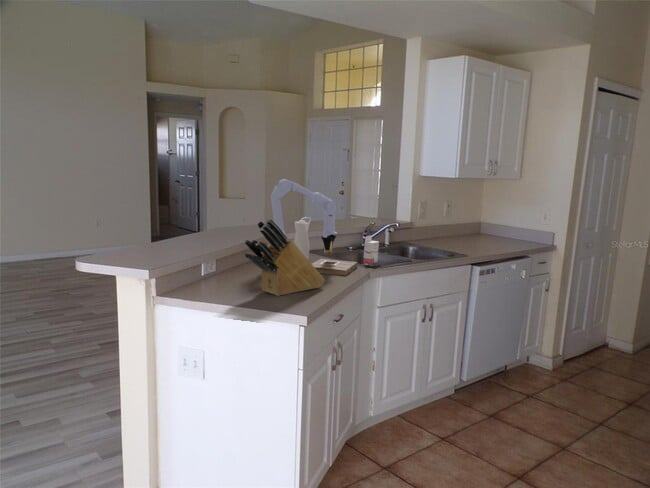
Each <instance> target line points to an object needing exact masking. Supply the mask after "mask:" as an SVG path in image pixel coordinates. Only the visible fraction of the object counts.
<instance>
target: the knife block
mask: <svg viewBox="0 0 650 488" xmlns="http://www.w3.org/2000/svg"><path fill="white" fill-rule="evenodd" d="M257 226H258V228H259V230H258V231H259V232H260V233H261V234H262V235H263V236H264V238H265V240H267V242H268V243H269V244H270V245H269V246H268V245H267V244H265V243H264V242H263V241H257V240H254V239H253V240H252V242H251V241H250V240H248V239H245V240H244V241H243V243H244V244H245V245H246V246H247V247H248V248H249V249H250V251H251V252H252V253H254V254H255V255H254V254H251V253H244V256H245V258H246V259H248V260H250V262H252V263H253V264H254V265H256V267H258V268H259V269H260V270H261V290H262V291H263V292H265V293H269V294H272V295H274V296H277V297H281V296H282V295H283V296H284V295H288V294H291V293H297V292H302V291H309V290H312V289H318V288H322V287H323V285H324V283H325V282H326V280H325V279H324V277H323V276H322V275H321V273H318V271H317V270H316V269H315V268H314V266H313V265H312V262H310V260H309V258H308V259H307V258H306V257H305V255H304V254H303V253H302V252H301V251H300V249H299V248H298V247H297V246H296V245H295V243H294V240H289V239H288V237H287V235H286V234H285V235H284V233H283V232H282V231H281V229H280V228H279V227H278V226H277V225H276V224H275V223H274V220H272V219H270V218H269V219H266V223H264V222H263V221H259V222H258V223H257ZM280 295H281V296H280Z"/></svg>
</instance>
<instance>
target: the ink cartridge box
mask: <svg viewBox="0 0 650 488" xmlns="http://www.w3.org/2000/svg"><path fill="white" fill-rule="evenodd" d="M372 239H373V235H366V236H365V238H364V247H363V264H367V265H373V264H375V263H378V262H379V261H378V260H379V258H378V257H379V248H380V247H379V245H380V241H377V240H372Z"/></svg>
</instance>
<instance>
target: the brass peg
mask: <svg viewBox="0 0 650 488" xmlns="http://www.w3.org/2000/svg"><path fill="white" fill-rule="evenodd" d="M323 250H324V251H323V253H324V254H329V255H330V254H333V246H332V241H331V244H330V249H329V250H325V247H324V249H323Z"/></svg>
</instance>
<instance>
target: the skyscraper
mask: <svg viewBox="0 0 650 488" xmlns="http://www.w3.org/2000/svg"><path fill="white" fill-rule="evenodd" d="M304 219H309V221H308V222H306V220H304ZM311 220H312V218H311V217H309V216H304V217H302V218H301V219H299V220H297V221H296V220H295V221H294V229H295V235H294V239H293V242H294V243H295V245H296V246H297V247H298V248H299V249H300V251H301V252H302V253H303V254H304V255H305V257H306V258H307V259H308V260H309V258H310V257H309V255H310V240H309V234H308V232H309V229H310V228H309V227H310V223H311Z"/></svg>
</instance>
